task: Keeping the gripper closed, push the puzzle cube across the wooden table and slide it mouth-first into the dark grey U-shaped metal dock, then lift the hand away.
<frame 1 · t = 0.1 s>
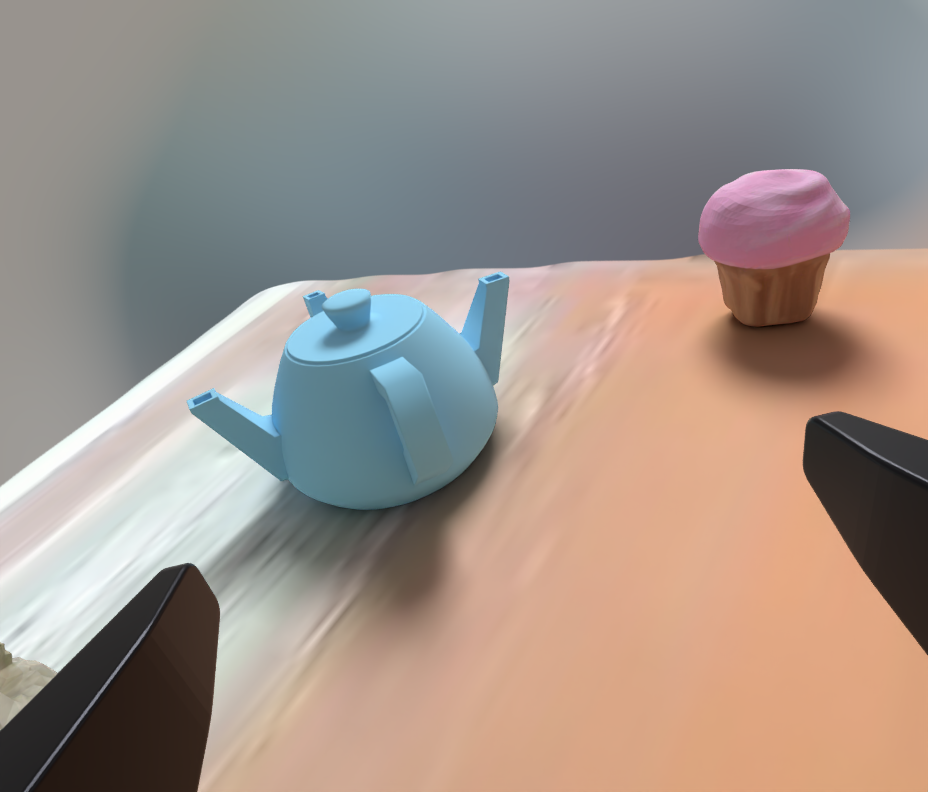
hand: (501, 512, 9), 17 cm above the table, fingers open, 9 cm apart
cupcake: (765, 317, 44), on the table
teapot: (397, 448, 41), on the table
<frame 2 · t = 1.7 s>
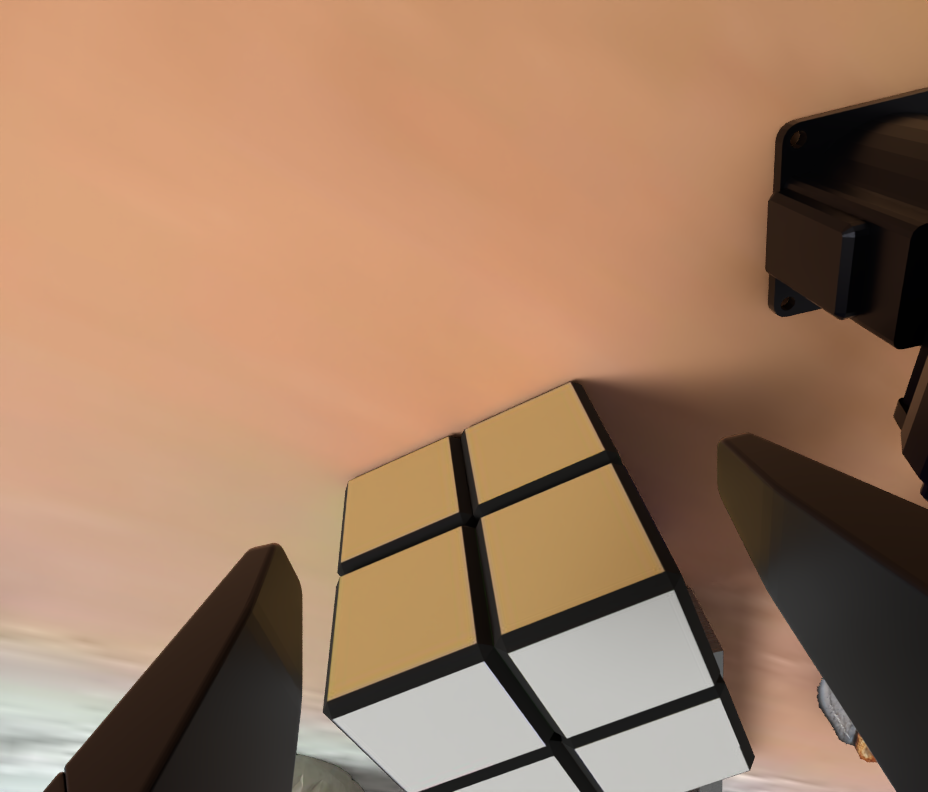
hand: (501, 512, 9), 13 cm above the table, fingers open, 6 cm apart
dock: (550, 701, 33), on the table
puzzle cube: (505, 511, 27), on the table
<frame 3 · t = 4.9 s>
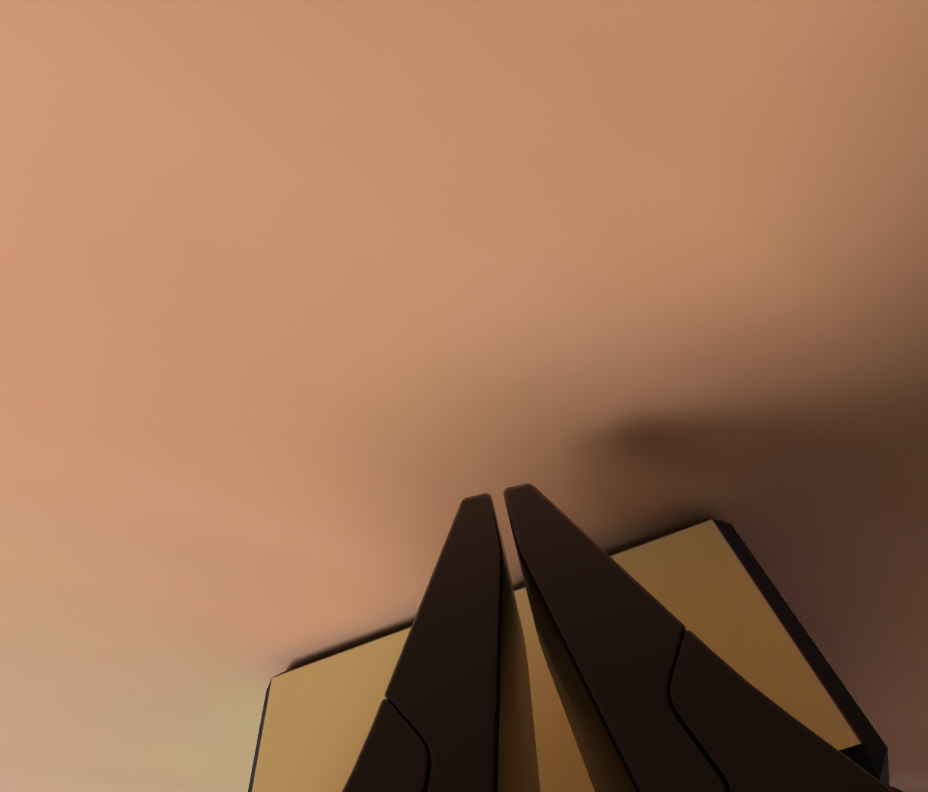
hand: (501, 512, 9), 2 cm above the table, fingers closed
puzzle cube: (553, 709, 15), on the table, touching gripper
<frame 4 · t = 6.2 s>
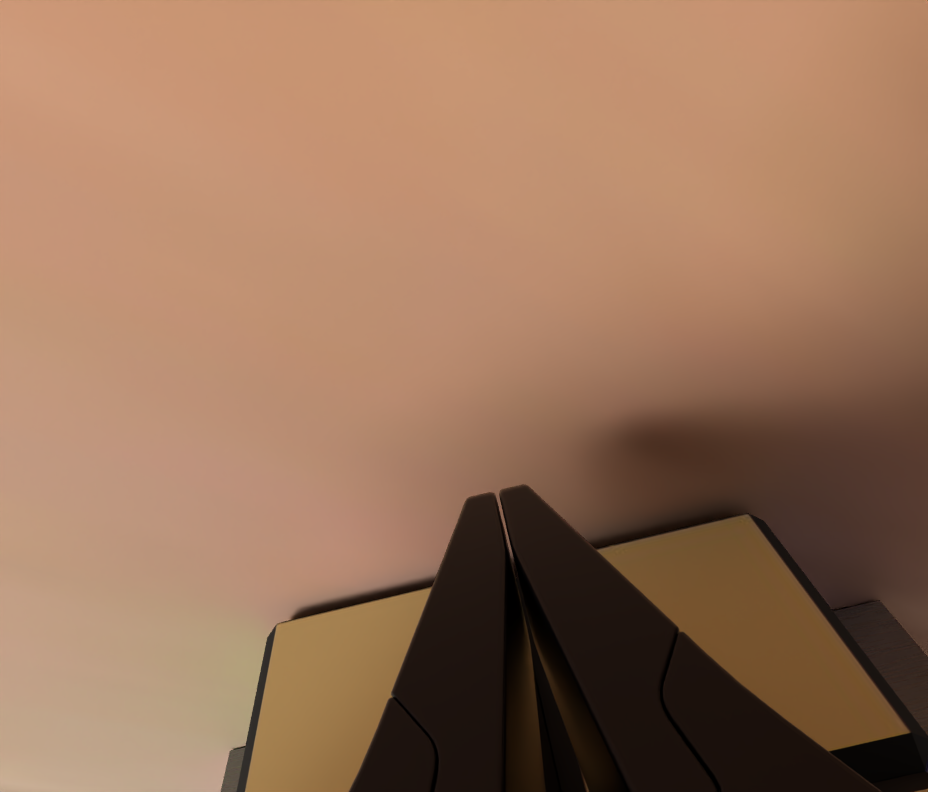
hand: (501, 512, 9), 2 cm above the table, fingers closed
puzzle cube: (543, 695, 15), on the table
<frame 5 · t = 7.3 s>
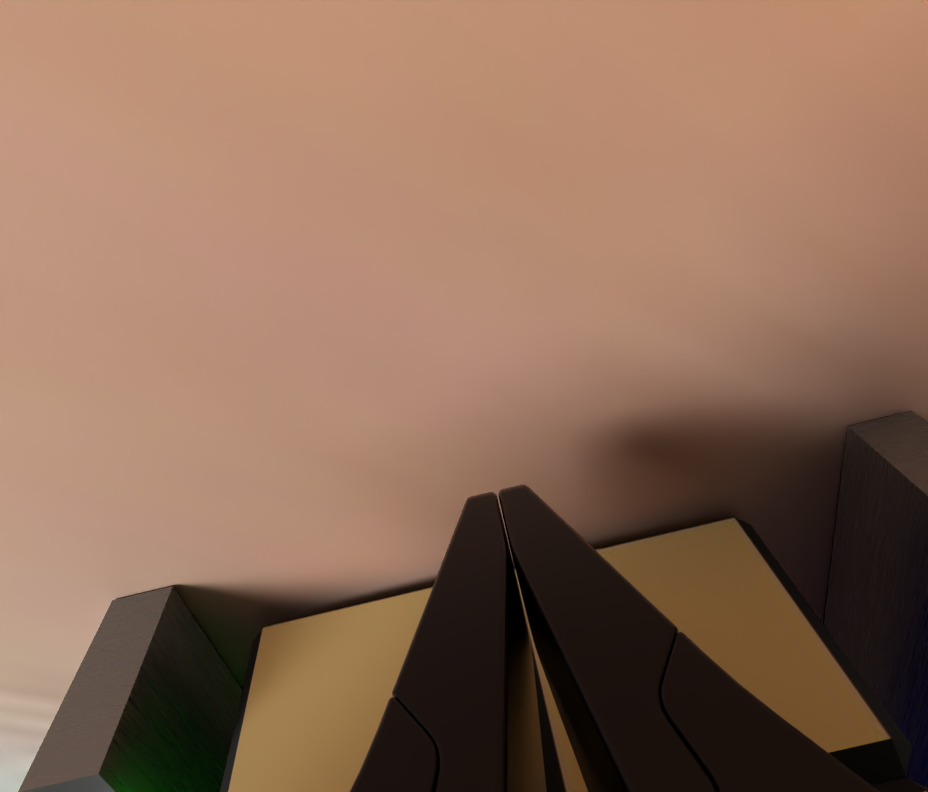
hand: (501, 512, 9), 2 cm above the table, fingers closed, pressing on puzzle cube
dock: (554, 707, 15), on the table
puzzle cube: (532, 698, 15), on the table, touching gripper
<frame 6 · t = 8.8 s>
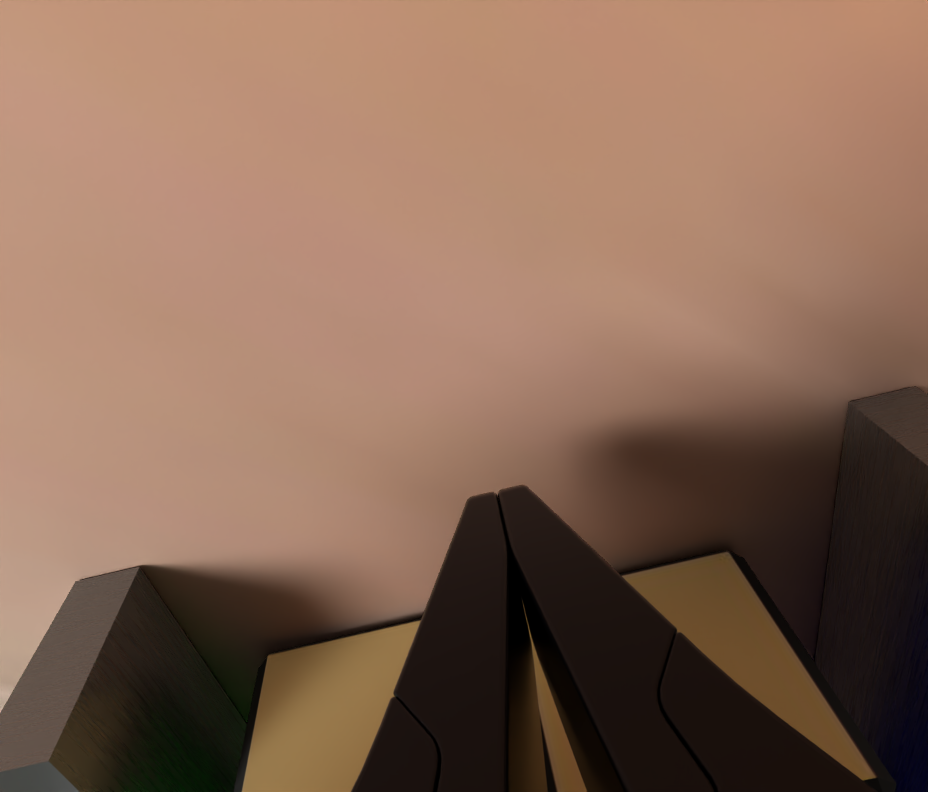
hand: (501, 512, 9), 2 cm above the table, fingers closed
dock: (542, 698, 14), on the table
puzzle cube: (529, 720, 15), on the table
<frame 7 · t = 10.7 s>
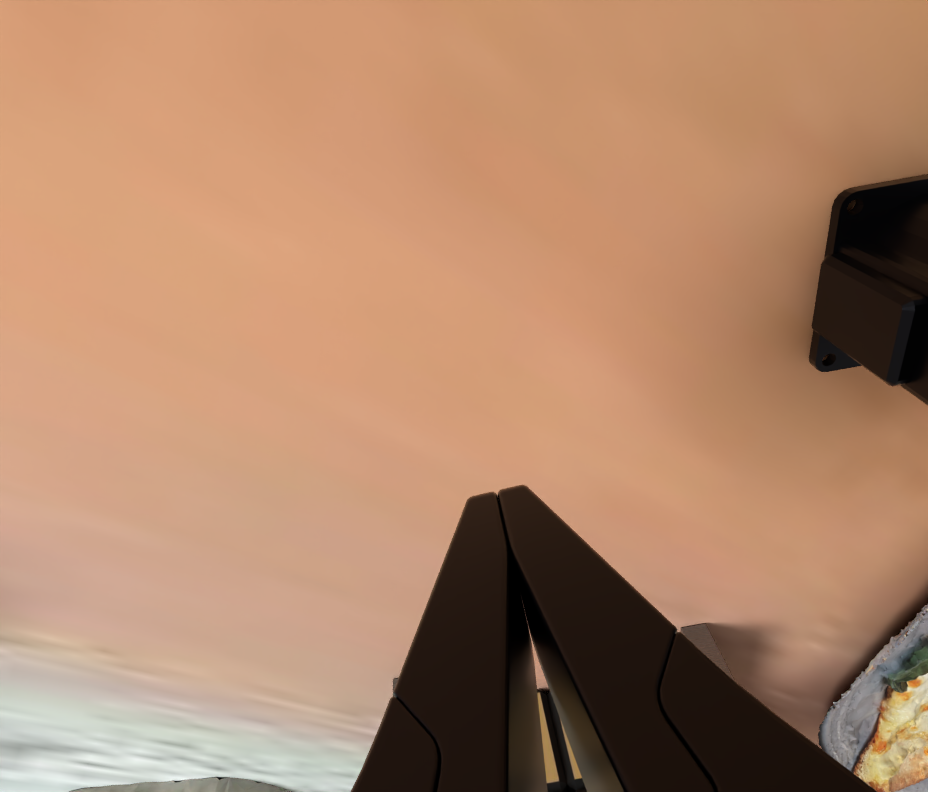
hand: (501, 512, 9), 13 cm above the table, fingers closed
dock: (558, 727, 34), on the table
puzzle cube: (551, 736, 35), on the table
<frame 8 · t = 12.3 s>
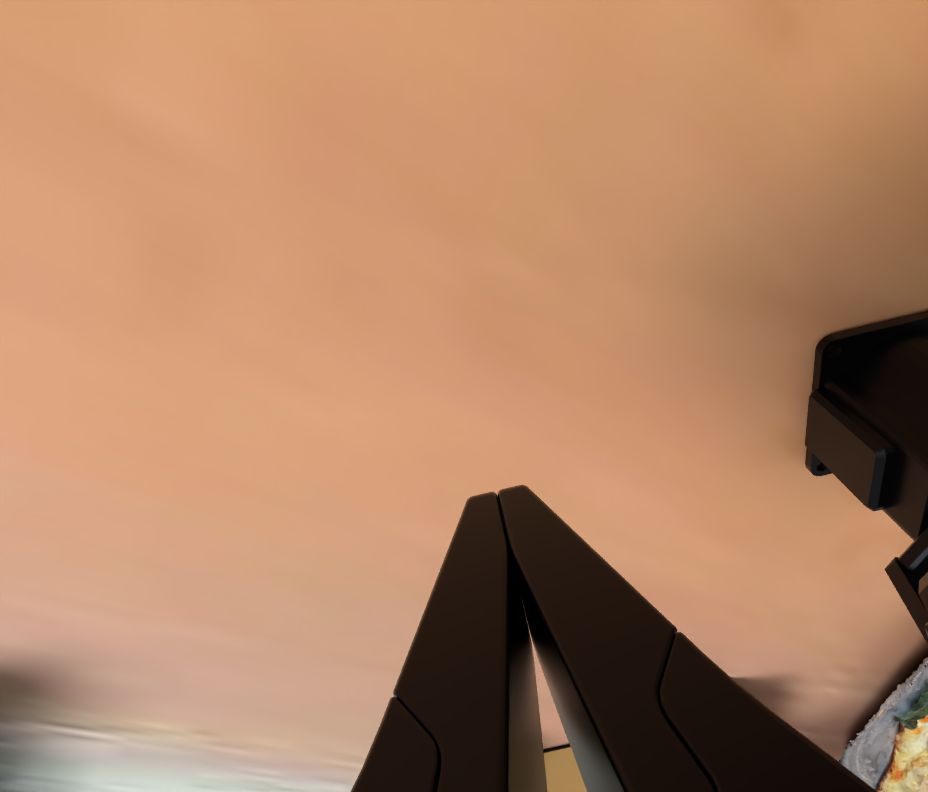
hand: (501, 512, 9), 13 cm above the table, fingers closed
puzzle cube: (595, 778, 38), on the table
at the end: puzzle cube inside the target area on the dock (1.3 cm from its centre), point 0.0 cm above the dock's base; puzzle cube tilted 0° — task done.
